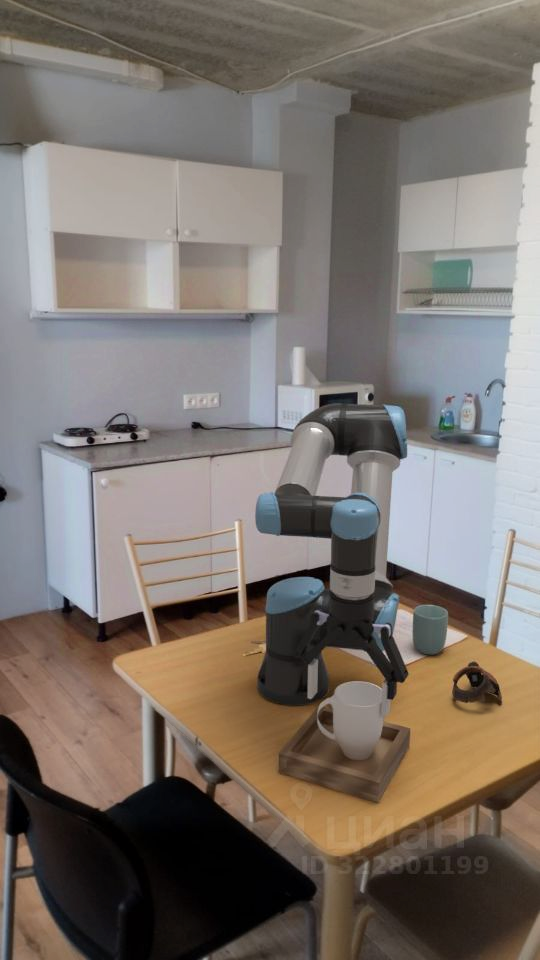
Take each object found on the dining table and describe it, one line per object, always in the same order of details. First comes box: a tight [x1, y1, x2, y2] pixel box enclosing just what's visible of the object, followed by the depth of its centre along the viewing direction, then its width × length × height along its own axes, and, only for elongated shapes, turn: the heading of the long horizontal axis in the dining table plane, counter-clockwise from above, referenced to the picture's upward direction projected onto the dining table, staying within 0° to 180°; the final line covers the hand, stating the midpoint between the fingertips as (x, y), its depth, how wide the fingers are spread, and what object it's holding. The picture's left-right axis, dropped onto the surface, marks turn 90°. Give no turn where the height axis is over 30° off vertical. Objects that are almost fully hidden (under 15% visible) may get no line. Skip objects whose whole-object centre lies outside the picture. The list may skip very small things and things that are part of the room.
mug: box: [317, 680, 384, 761], centre depth 133 cm, size 12×9×12 cm
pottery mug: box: [451, 661, 503, 706], centre depth 156 cm, size 12×10×8 cm
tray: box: [277, 704, 411, 804], centre depth 135 cm, size 18×18×4 cm
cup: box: [411, 604, 449, 656], centre depth 176 cm, size 8×8×10 cm
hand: (348, 704), depth 133 cm, fingers open, 13 cm apart
